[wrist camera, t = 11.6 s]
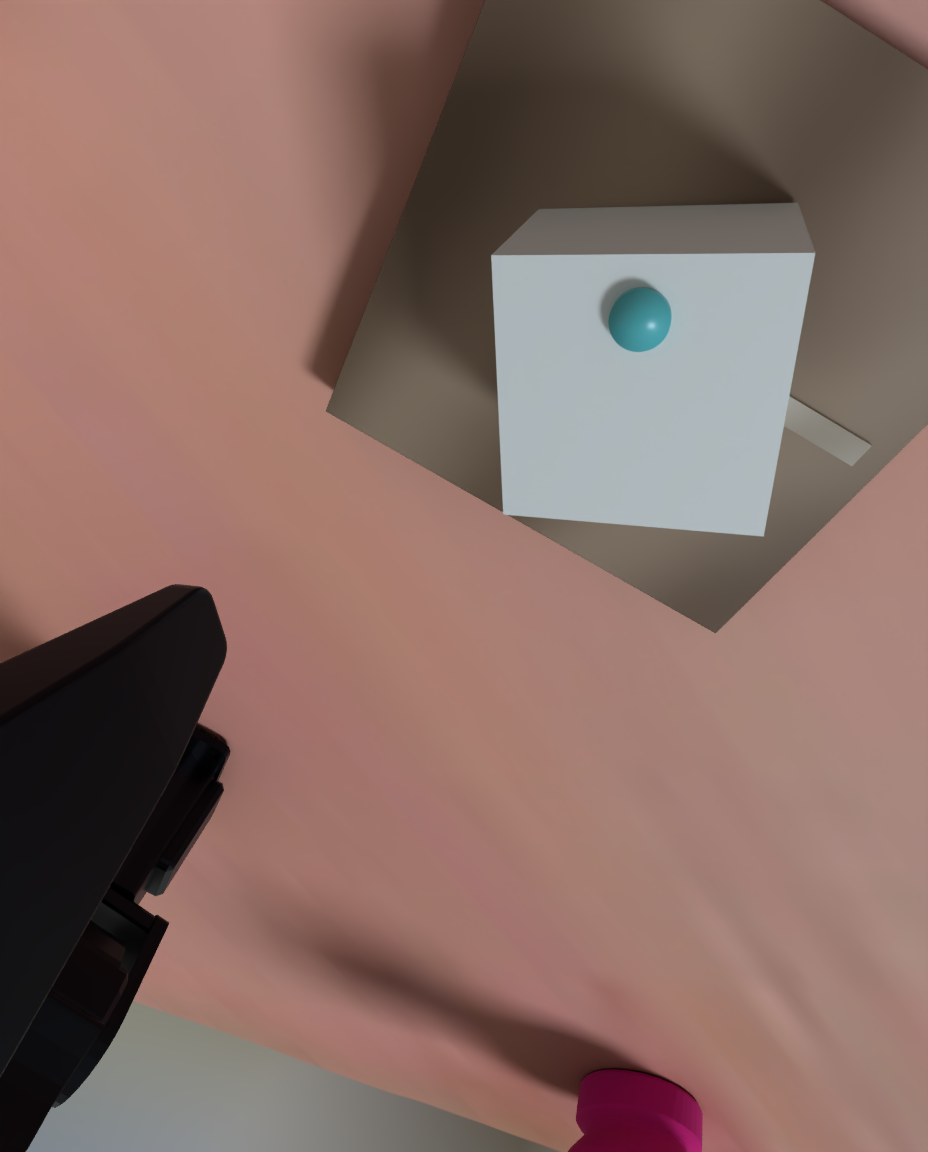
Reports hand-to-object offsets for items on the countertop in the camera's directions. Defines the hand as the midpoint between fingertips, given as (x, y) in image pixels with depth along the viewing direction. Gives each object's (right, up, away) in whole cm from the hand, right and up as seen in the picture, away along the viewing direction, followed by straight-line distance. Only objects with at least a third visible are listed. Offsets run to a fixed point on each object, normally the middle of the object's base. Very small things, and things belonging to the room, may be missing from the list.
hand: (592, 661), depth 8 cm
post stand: (+3, +7, +9) cm, 12 cm away
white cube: (+3, +6, +9) cm, 11 cm away
